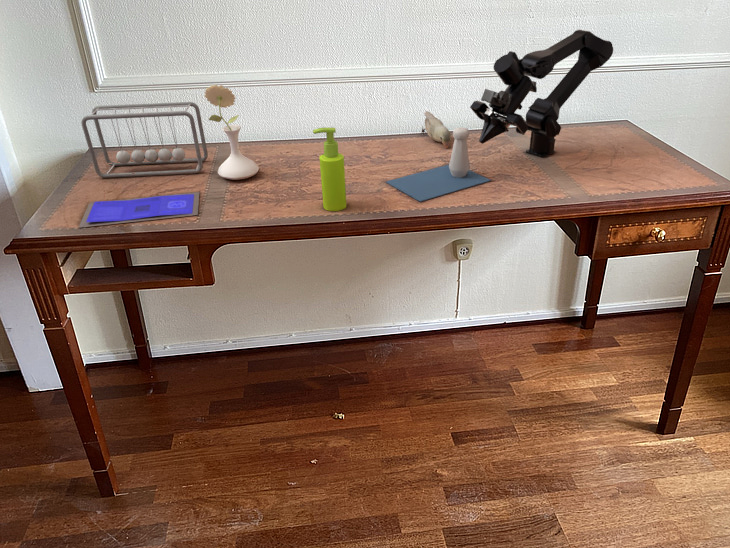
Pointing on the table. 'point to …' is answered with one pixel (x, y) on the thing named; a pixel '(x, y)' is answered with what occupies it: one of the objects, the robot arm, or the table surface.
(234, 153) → the flower in vase
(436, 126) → the decorative bird
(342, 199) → the soap dispenser
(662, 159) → the table surface
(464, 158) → the salt shaker
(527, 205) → the table surface
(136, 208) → the booklet
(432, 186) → the slate mat
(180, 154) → the newton's cradle
